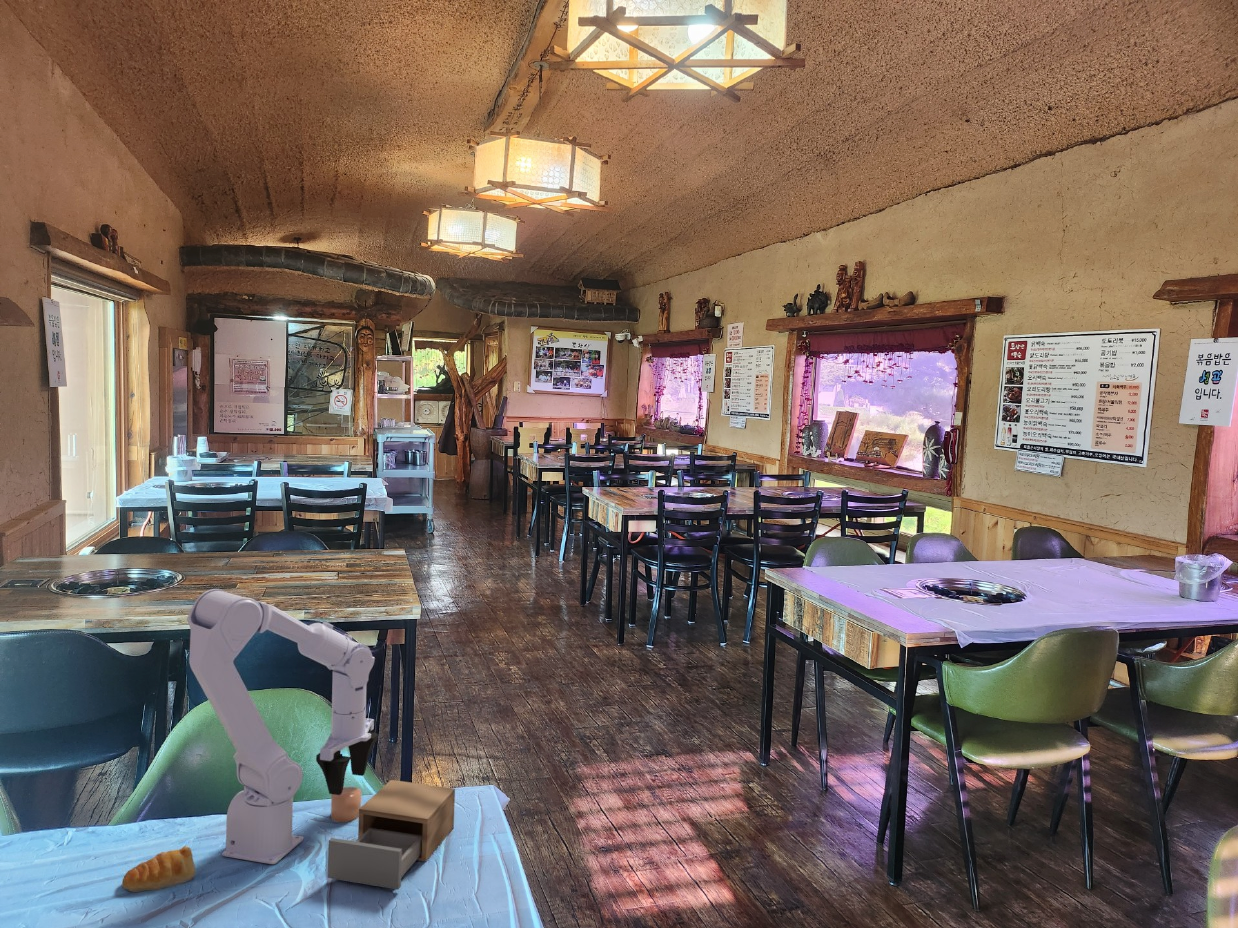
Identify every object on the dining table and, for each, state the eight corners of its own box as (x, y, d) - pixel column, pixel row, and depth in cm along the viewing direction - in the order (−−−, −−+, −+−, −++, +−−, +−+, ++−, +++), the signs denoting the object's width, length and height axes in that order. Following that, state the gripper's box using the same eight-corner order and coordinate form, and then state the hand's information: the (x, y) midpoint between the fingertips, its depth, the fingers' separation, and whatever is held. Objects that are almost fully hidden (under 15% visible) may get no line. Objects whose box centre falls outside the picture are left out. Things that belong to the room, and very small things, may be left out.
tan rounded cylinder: (325, 820, 138) (325, 797, 138) (340, 806, 143) (341, 785, 143) (351, 824, 137) (351, 801, 137) (365, 810, 142) (366, 788, 142)
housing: (426, 861, 126) (427, 818, 126) (357, 850, 129) (359, 808, 128) (453, 827, 137) (454, 788, 137) (390, 818, 140) (391, 779, 139)
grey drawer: (398, 889, 117) (399, 851, 117) (327, 877, 120) (328, 840, 119) (428, 852, 128) (430, 817, 128) (363, 842, 130) (364, 807, 130)
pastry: (126, 902, 113) (126, 876, 113) (118, 881, 118) (118, 856, 118) (198, 880, 119) (199, 855, 119) (188, 860, 124) (188, 836, 124)
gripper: (347, 726, 131) (345, 805, 132) (389, 697, 146) (387, 769, 146) (309, 721, 133) (307, 800, 133) (354, 693, 147) (352, 764, 148)
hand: (347, 783), depth 140 cm, fingers open, 7 cm apart
